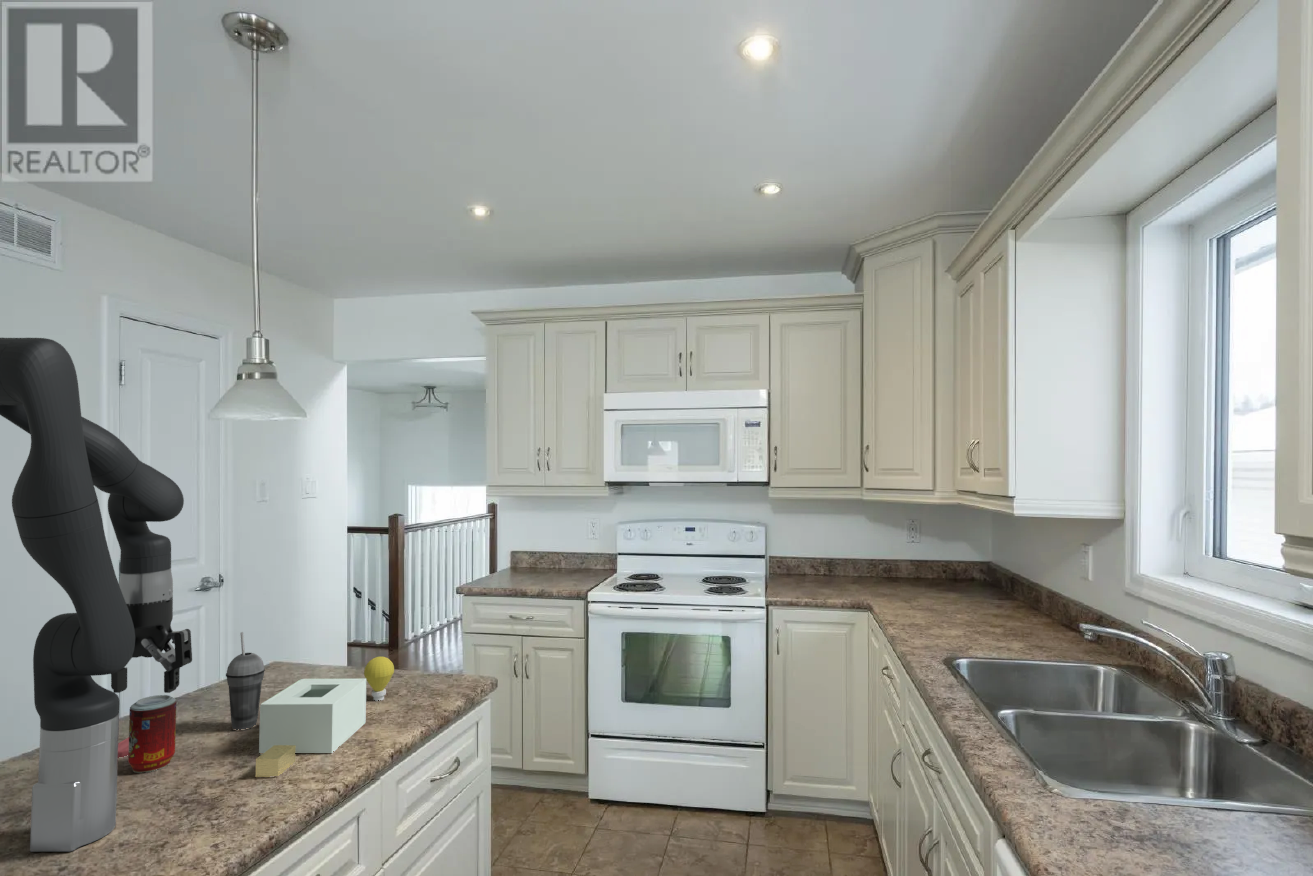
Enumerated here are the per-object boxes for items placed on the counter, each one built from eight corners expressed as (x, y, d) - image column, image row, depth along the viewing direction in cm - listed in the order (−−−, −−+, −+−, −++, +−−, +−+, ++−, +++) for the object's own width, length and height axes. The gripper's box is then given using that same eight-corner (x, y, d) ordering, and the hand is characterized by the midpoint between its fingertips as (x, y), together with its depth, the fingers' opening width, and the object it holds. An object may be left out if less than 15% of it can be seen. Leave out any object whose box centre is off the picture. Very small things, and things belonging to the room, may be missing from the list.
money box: (331, 753, 133) (332, 704, 133) (259, 754, 132) (260, 704, 133) (365, 722, 149) (366, 678, 149) (300, 723, 148) (301, 678, 149)
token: (277, 778, 123) (278, 758, 123) (255, 778, 122) (255, 759, 123) (295, 764, 129) (295, 745, 129) (273, 764, 128) (274, 745, 129)
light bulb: (363, 697, 165) (363, 655, 166) (392, 693, 168) (393, 652, 168) (363, 705, 159) (364, 662, 159) (394, 701, 162) (395, 659, 162)
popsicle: (178, 722, 146) (128, 752, 131) (178, 730, 146) (128, 760, 131) (152, 723, 145) (99, 752, 130) (152, 730, 145) (99, 761, 130)
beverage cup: (245, 734, 142) (247, 637, 143) (215, 732, 143) (218, 635, 144) (271, 722, 149) (273, 629, 150) (243, 719, 151) (245, 627, 151)
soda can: (122, 767, 127) (125, 700, 127) (168, 755, 132) (170, 690, 133) (133, 778, 122) (136, 708, 123) (180, 765, 128) (182, 698, 128)
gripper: (86, 602, 114) (85, 699, 113) (172, 602, 114) (172, 699, 114) (120, 592, 121) (120, 683, 121) (202, 592, 121) (201, 683, 121)
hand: (145, 691), depth 117 cm, fingers open, 8 cm apart
